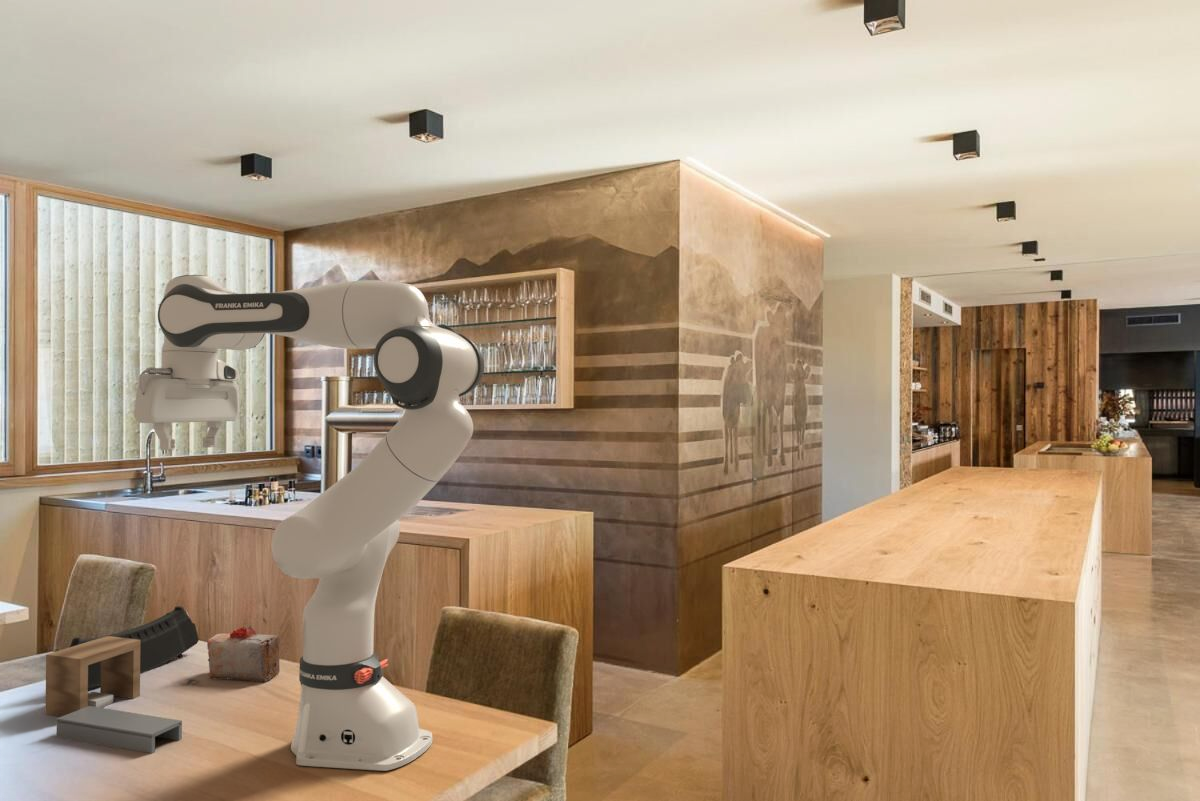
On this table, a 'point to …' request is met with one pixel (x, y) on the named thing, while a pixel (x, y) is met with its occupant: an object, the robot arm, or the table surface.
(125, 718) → the grey channel riser
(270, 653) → the food item
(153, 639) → the magazine
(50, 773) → the table surface
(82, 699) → the wooden arch
